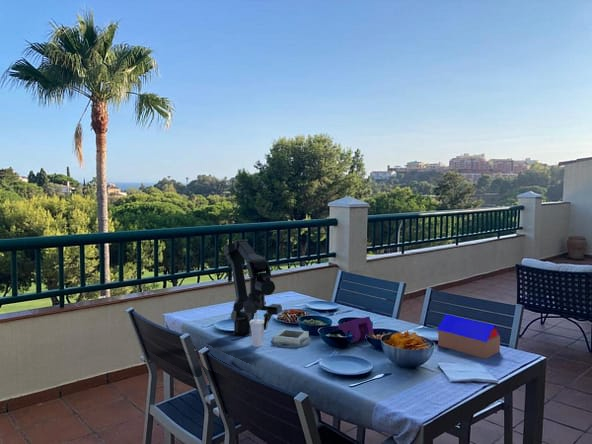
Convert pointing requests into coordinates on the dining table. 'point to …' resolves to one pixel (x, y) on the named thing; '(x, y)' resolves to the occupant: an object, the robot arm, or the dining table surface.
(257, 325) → the smoothie
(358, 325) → the mounting bracket
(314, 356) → the dining table surface
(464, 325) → the house
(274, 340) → the disk with square socket
